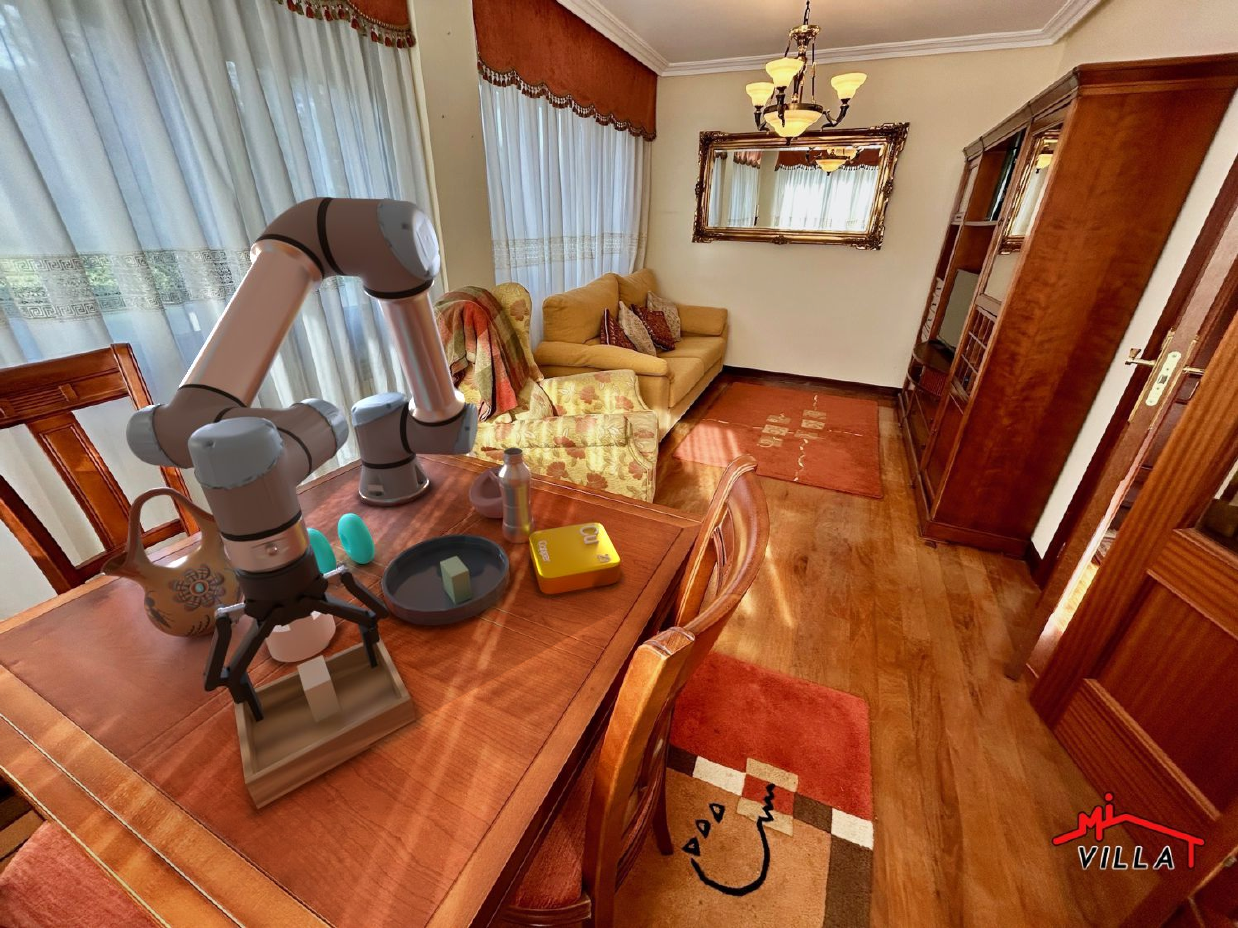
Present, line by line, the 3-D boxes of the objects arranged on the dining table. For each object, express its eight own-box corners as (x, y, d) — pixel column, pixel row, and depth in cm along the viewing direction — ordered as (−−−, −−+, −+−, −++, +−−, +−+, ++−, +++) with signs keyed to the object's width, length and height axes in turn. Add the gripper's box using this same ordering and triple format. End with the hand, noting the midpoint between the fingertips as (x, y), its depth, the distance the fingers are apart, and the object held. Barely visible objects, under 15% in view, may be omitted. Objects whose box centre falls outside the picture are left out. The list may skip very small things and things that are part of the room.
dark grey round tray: (369, 576, 92) (365, 561, 90) (479, 536, 104) (477, 522, 102) (408, 648, 77) (405, 631, 75) (531, 591, 89) (530, 576, 88)
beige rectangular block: (308, 696, 68) (296, 665, 65) (332, 685, 70) (322, 654, 67) (315, 723, 65) (304, 691, 62) (341, 710, 66) (330, 679, 64)
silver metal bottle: (529, 550, 100) (523, 460, 91) (497, 545, 101) (489, 456, 92) (540, 532, 106) (536, 446, 97) (510, 527, 107) (503, 442, 98)
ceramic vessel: (248, 586, 88) (199, 459, 77) (279, 603, 85) (233, 473, 74) (133, 649, 75) (54, 507, 64) (165, 673, 72) (87, 527, 60)
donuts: (381, 568, 94) (371, 523, 89) (325, 594, 87) (311, 547, 83) (358, 545, 100) (348, 503, 95) (303, 568, 93) (289, 523, 89)
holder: (244, 721, 65) (233, 697, 63) (384, 657, 75) (379, 634, 73) (257, 809, 56) (245, 784, 54) (416, 721, 66) (411, 698, 64)
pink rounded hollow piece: (460, 514, 111) (454, 468, 106) (504, 495, 119) (500, 451, 114) (493, 535, 104) (489, 488, 99) (537, 513, 112) (535, 468, 107)
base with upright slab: (344, 640, 78) (327, 579, 73) (278, 672, 72) (254, 609, 67) (325, 610, 84) (308, 551, 78) (263, 637, 78) (239, 576, 73)
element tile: (528, 549, 100) (527, 529, 98) (600, 537, 105) (600, 518, 103) (541, 598, 88) (540, 576, 86) (622, 583, 92) (623, 562, 90)
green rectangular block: (444, 589, 88) (439, 561, 86) (460, 582, 90) (456, 555, 87) (455, 604, 85) (451, 577, 82) (472, 597, 87) (468, 570, 84)
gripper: (124, 621, 47) (202, 764, 56) (397, 532, 61) (422, 658, 70) (128, 579, 52) (199, 716, 61) (378, 506, 66) (404, 626, 76)
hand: (318, 685), depth 66 cm, fingers open, 13 cm apart
